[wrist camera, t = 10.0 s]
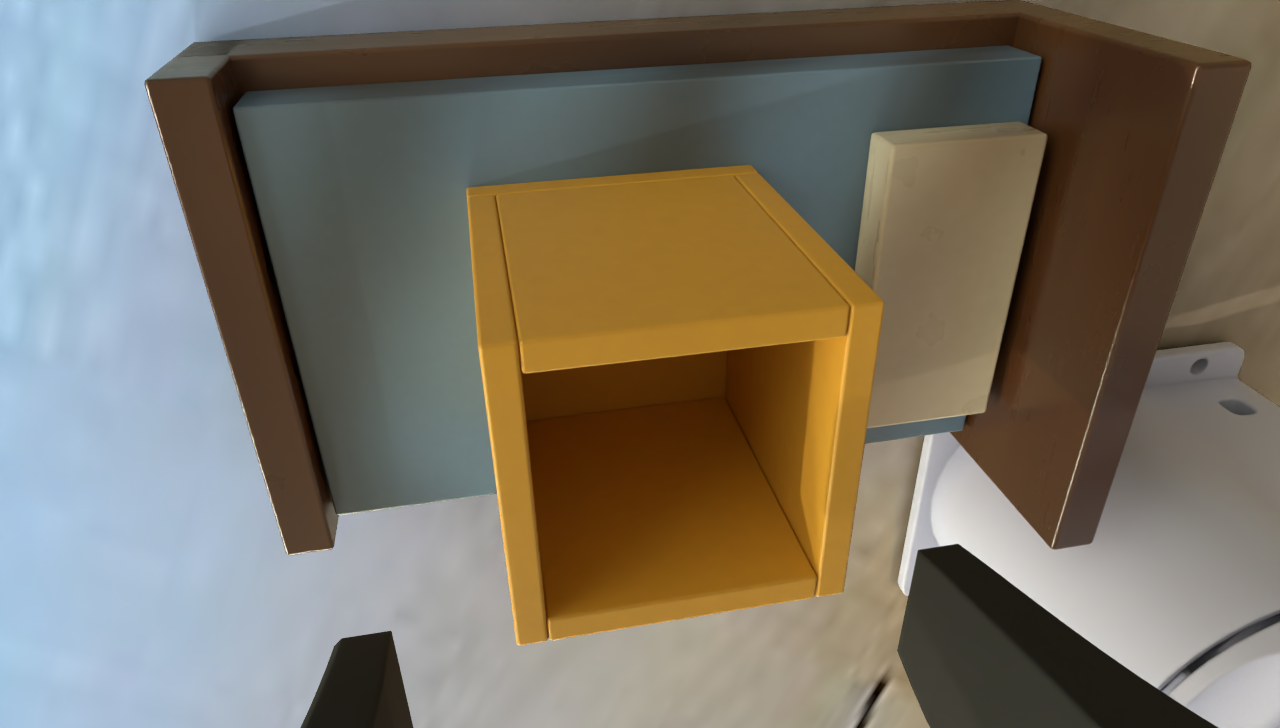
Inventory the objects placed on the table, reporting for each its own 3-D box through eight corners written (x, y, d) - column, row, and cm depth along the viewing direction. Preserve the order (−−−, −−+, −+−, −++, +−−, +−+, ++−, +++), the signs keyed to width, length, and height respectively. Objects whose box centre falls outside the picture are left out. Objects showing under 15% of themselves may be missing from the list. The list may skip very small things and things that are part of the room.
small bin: (751, 164, 17) (886, 301, 12) (739, 399, 19) (845, 593, 14) (466, 186, 16) (478, 346, 11) (496, 429, 19) (516, 648, 14)
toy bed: (1019, -1, 19) (1257, 60, 13) (945, 386, 24) (1093, 545, 19) (191, 42, 16) (63, 140, 11) (306, 467, 21) (259, 681, 16)
